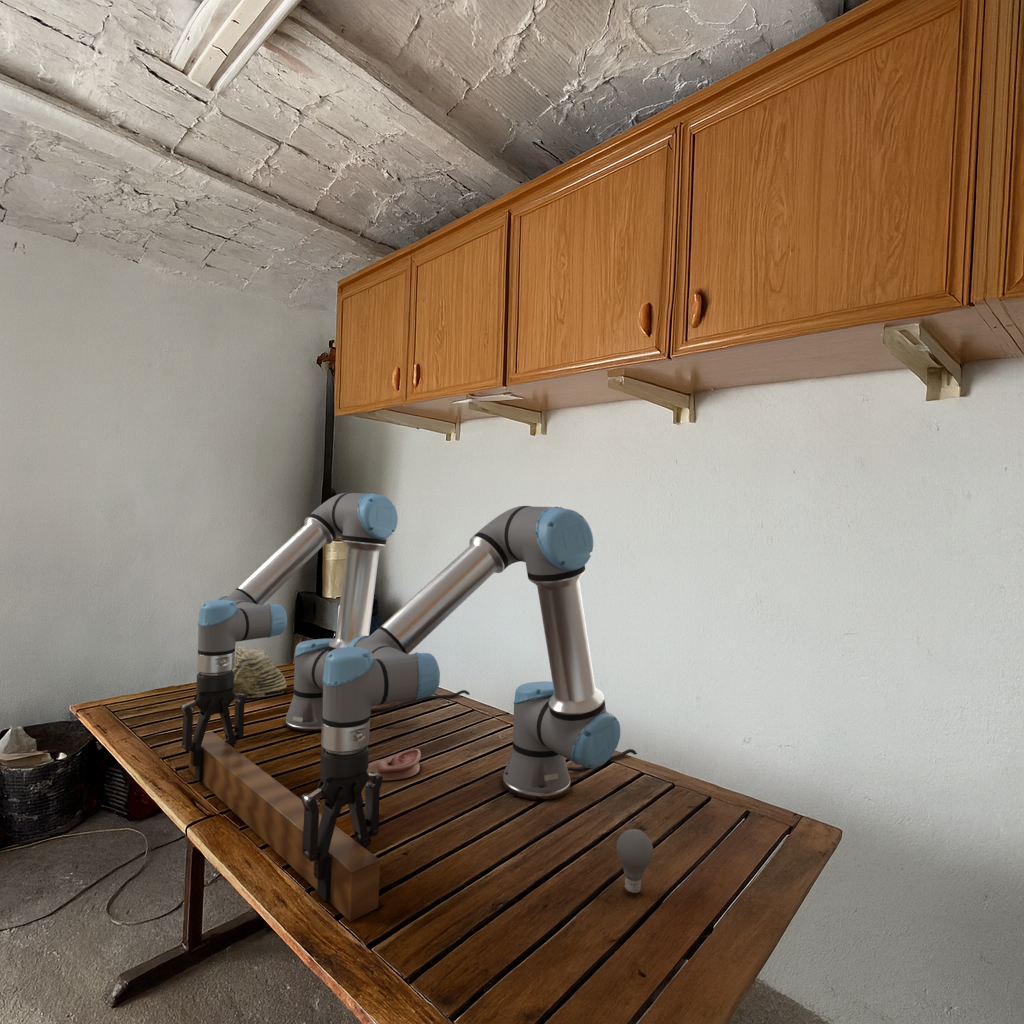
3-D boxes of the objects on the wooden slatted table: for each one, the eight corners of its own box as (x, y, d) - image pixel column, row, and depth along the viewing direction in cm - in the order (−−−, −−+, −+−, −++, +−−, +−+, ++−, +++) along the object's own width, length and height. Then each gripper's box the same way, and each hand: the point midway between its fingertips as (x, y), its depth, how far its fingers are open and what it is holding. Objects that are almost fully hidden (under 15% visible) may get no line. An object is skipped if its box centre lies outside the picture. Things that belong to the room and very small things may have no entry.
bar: (188, 769, 144) (189, 736, 144) (211, 764, 147) (212, 731, 147) (350, 921, 95) (352, 872, 95) (378, 907, 99) (380, 859, 99)
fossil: (218, 695, 195) (220, 647, 195) (278, 685, 208) (279, 640, 207) (228, 703, 189) (230, 653, 188) (289, 692, 201) (290, 645, 201)
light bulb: (610, 879, 108) (613, 822, 108) (644, 879, 109) (647, 822, 109) (619, 902, 102) (622, 840, 102) (655, 901, 103) (658, 840, 103)
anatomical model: (353, 759, 143) (374, 741, 154) (352, 777, 143) (373, 757, 154) (408, 767, 140) (426, 748, 152) (408, 785, 140) (425, 764, 152)
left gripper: (177, 682, 131) (173, 793, 131) (263, 668, 144) (259, 770, 144) (165, 674, 136) (162, 781, 137) (249, 661, 149) (245, 759, 149)
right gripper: (303, 769, 93) (298, 926, 93) (405, 739, 105) (399, 877, 106) (280, 753, 98) (275, 901, 98) (379, 727, 111) (374, 858, 111)
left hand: (212, 775), depth 140 cm, fingers closed on bar, 5 cm apart
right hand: (339, 889), depth 102 cm, fingers closed on bar, 5 cm apart
